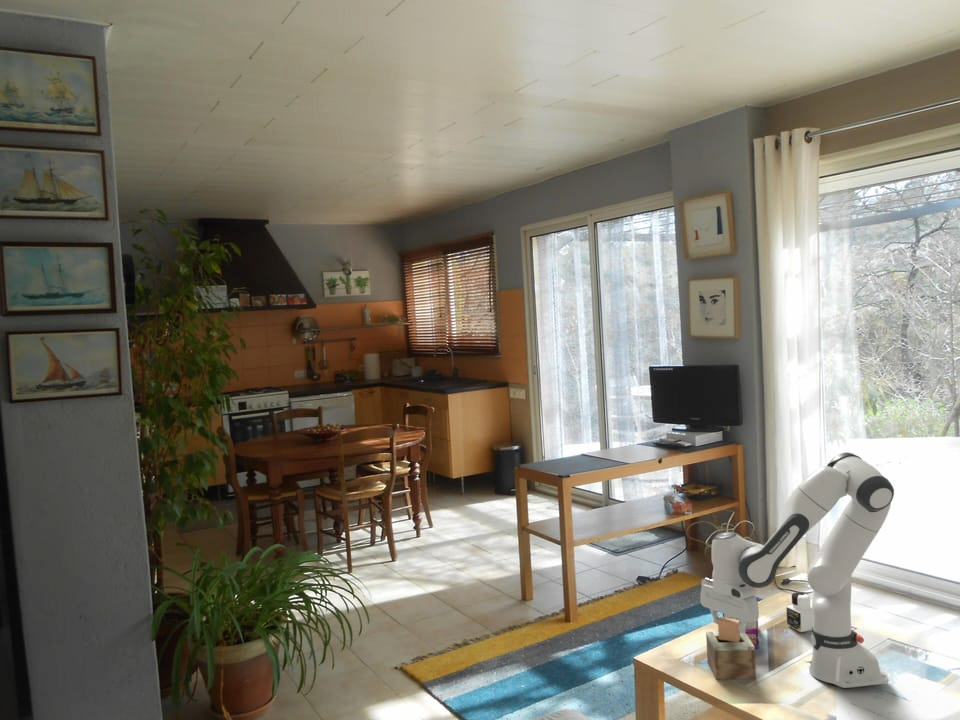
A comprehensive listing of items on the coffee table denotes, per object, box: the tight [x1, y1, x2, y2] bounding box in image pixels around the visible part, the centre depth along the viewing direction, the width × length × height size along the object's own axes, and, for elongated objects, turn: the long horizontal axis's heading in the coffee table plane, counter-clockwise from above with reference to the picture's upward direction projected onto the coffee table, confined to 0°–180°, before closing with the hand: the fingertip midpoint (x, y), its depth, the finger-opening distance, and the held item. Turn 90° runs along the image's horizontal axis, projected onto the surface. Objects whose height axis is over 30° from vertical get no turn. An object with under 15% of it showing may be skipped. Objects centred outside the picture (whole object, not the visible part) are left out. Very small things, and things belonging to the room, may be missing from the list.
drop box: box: [705, 630, 757, 680], centre depth 235 cm, size 12×12×10 cm
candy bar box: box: [722, 595, 760, 649], centre depth 253 cm, size 11×5×16 cm, turn 71°
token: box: [717, 616, 741, 642], centre depth 234 cm, size 6×3×6 cm, turn 59°
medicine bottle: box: [785, 591, 813, 633], centre depth 264 cm, size 7×7×12 cm
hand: (729, 627), depth 234 cm, fingers open, 8 cm apart
